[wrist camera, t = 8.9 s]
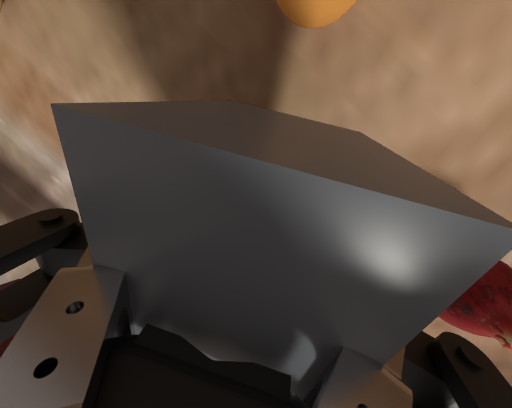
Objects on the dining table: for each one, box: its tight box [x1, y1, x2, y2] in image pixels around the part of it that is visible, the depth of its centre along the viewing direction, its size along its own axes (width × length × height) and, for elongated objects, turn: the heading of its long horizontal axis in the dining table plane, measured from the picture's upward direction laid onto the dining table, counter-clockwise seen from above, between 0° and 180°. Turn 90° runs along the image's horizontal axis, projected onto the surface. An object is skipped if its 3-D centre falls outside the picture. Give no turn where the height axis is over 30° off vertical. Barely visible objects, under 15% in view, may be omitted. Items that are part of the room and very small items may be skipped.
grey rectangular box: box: [51, 100, 512, 399], centre depth 9 cm, size 6×10×8 cm, turn 168°
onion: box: [438, 260, 512, 350], centre depth 15 cm, size 6×6×8 cm
